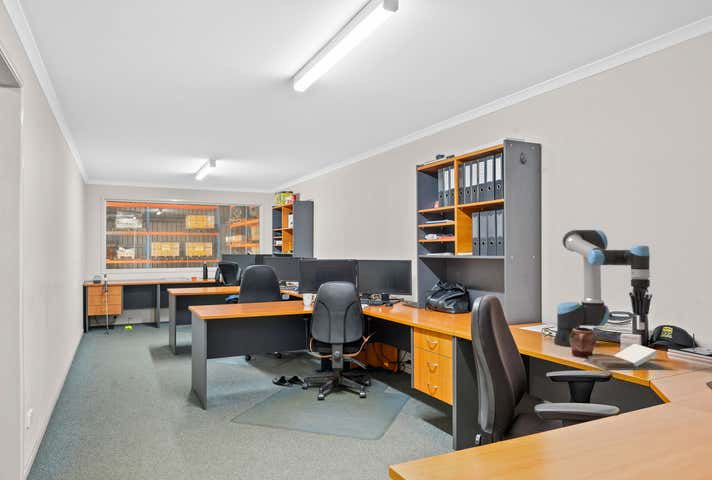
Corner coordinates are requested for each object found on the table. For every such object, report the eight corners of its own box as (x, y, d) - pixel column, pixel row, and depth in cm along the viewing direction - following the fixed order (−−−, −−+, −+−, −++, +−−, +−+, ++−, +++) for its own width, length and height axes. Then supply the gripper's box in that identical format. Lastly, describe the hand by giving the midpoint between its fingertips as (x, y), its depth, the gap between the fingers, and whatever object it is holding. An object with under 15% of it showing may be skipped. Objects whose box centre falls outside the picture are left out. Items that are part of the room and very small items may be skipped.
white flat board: (615, 359, 228) (613, 355, 228) (636, 347, 229) (634, 343, 229) (636, 366, 213) (634, 363, 213) (658, 354, 214) (656, 350, 214)
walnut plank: (588, 360, 227) (588, 356, 227) (612, 359, 228) (612, 355, 228) (607, 368, 212) (607, 363, 212) (633, 367, 213) (633, 363, 213)
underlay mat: (583, 360, 228) (583, 359, 228) (638, 360, 230) (638, 359, 230) (605, 370, 211) (605, 368, 211) (663, 369, 213) (663, 367, 213)
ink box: (641, 358, 234) (641, 334, 234) (640, 360, 230) (640, 336, 230) (621, 356, 239) (621, 332, 239) (620, 358, 235) (620, 334, 235)
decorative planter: (597, 362, 226) (597, 332, 226) (569, 359, 231) (569, 330, 231) (595, 353, 244) (595, 326, 244) (569, 351, 249) (569, 325, 249)
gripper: (623, 277, 228) (624, 327, 228) (642, 279, 215) (642, 331, 215) (638, 277, 229) (639, 327, 228) (657, 279, 216) (658, 331, 215)
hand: (640, 329), depth 221 cm, fingers closed
